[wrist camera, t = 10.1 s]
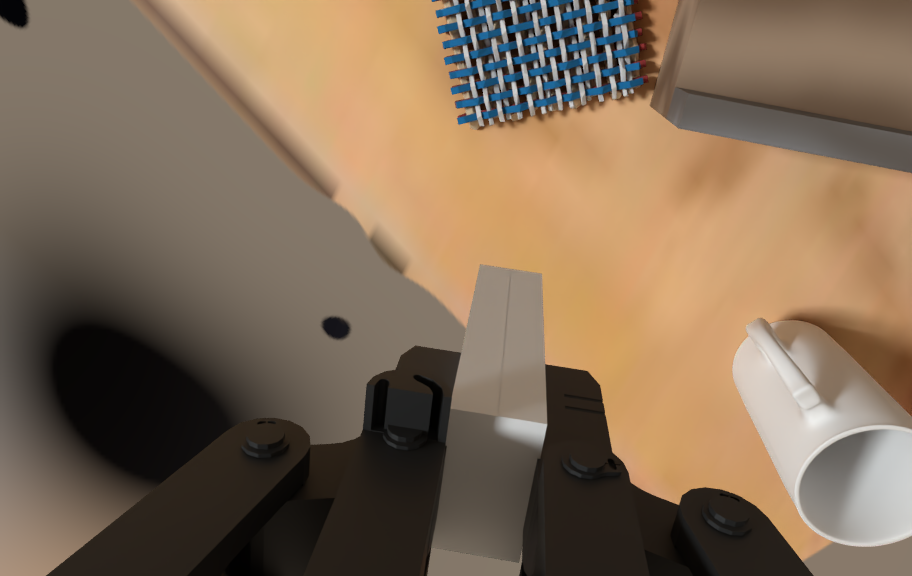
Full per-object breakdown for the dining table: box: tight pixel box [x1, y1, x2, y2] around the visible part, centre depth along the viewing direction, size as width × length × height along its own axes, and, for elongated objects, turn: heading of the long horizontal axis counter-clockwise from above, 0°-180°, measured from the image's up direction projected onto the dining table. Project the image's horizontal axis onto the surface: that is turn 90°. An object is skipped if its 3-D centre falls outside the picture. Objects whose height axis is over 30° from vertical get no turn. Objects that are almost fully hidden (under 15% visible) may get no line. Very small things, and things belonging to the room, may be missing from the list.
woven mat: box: [432, 0, 648, 130], centre depth 36 cm, size 10×11×2 cm
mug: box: [732, 318, 912, 547], centre depth 36 cm, size 10×7×12 cm, turn 39°
